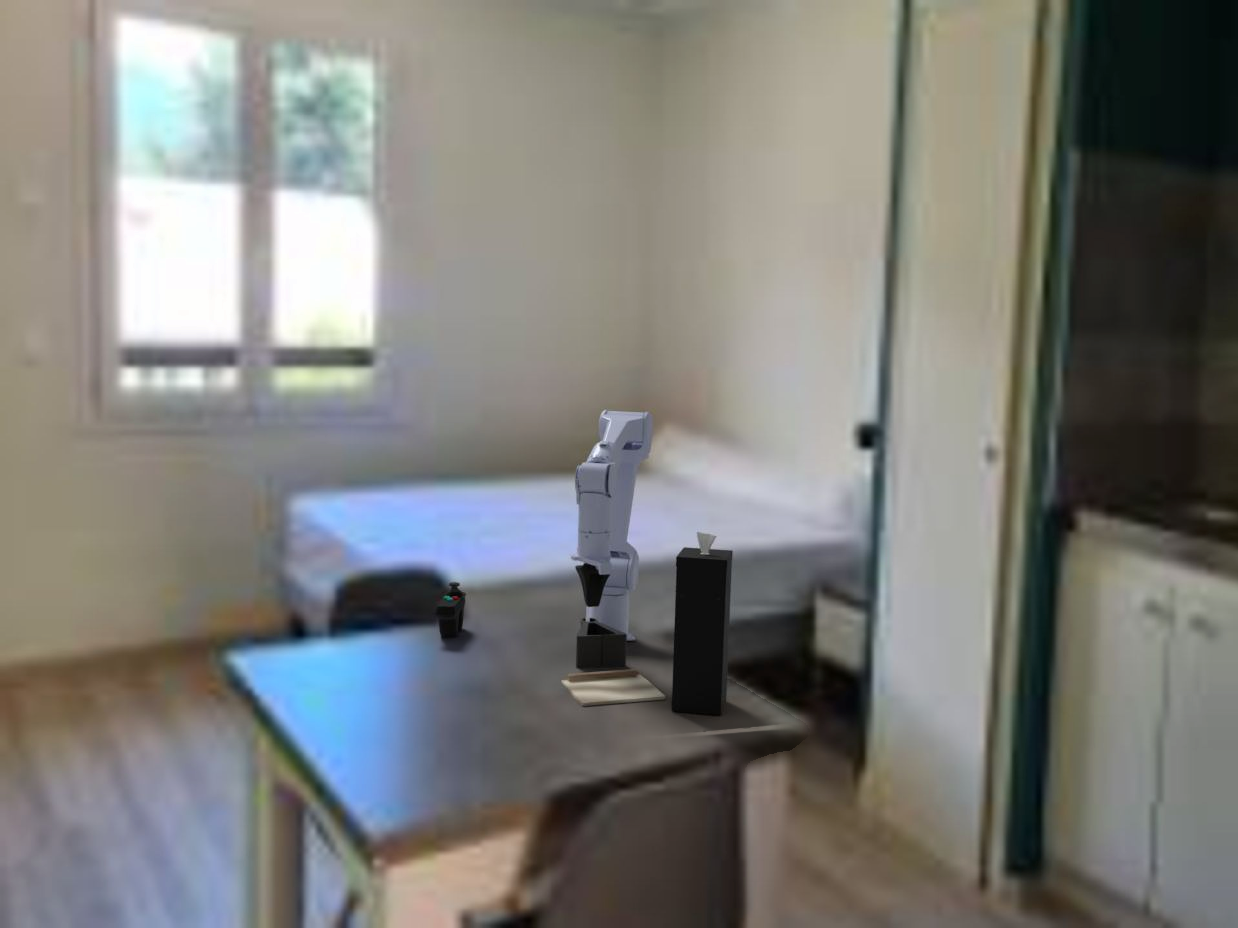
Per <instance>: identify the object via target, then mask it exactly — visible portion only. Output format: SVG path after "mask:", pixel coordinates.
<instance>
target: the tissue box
mask: <svg viewBox="0 0 1238 928" xmlns="http://www.w3.org/2000/svg"><path fill="white" fill-rule="evenodd" d="M696 538H697V542H698V546H699V548H698V547H683V548H682V549H681V551H679V552H678V554H677V555H676V556H675V557H676V558H675V559H676V560H675V567H676V572H675V573H676V577H675V578H676V579H675V600H674V603H675V604H674V607H675V608H674V632H673V662H672V664H673V665H672V691H671V711H672V712H678V713H679V712H680V713H691V714H701V715H710V716H711V715H712V716H722V713H723V711H724V708H725V705H726V701H727V692H728V688H727V687H728V669H729V668H728V665H729V641H730V621H731V620H730V615H731V614H730V613H731V593H732V590H731V589H732V588H731V587H732V567H733V564H732V563H733V553H734V550H732V549H730V550H729V549H728V550H727V549H715V548H714V549H713V548H711V547H712V545H713V544H714V542H715V541H716V538H717V535H714V534H710V533H703V532H701V531H700V532H699V531H696Z"/></svg>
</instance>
